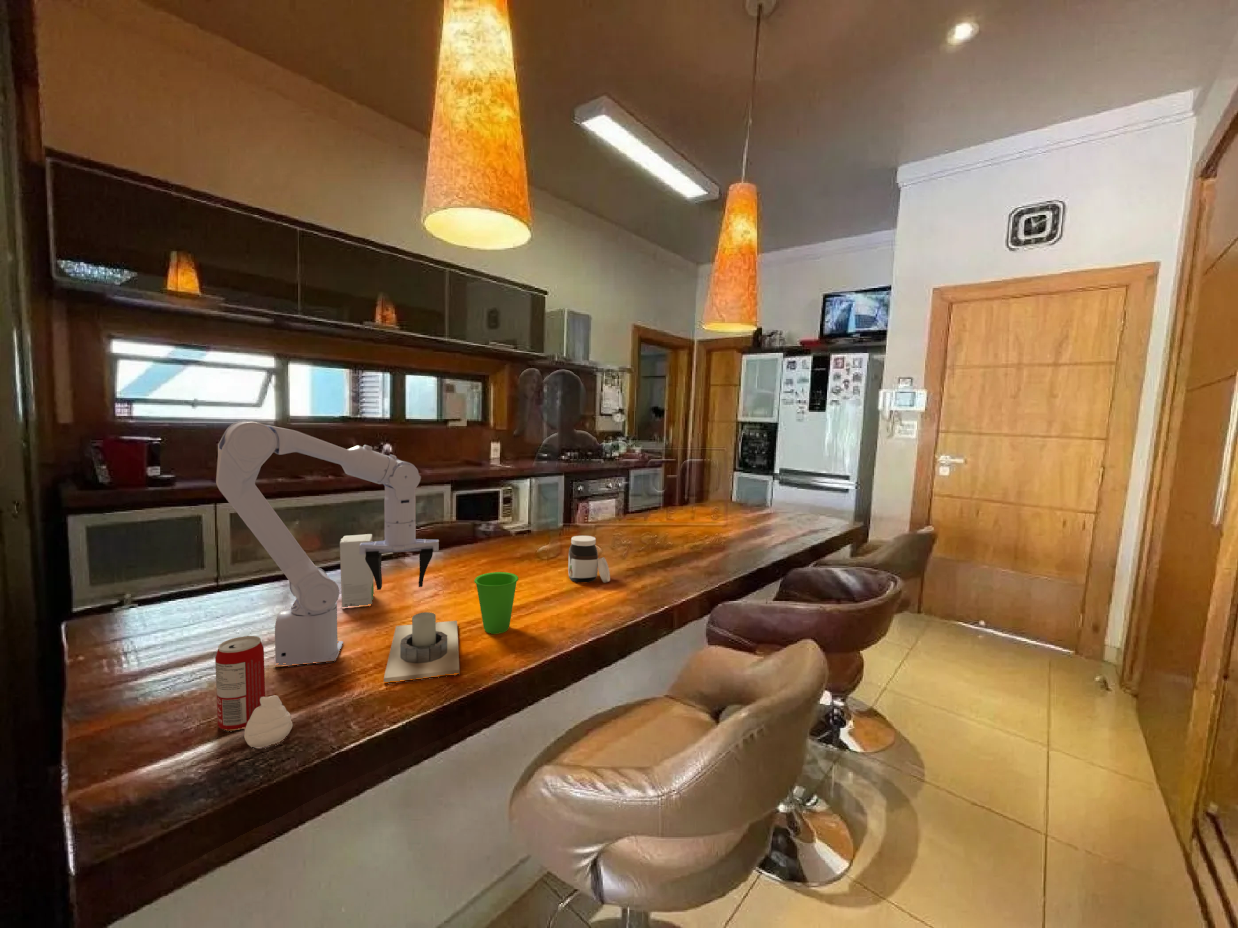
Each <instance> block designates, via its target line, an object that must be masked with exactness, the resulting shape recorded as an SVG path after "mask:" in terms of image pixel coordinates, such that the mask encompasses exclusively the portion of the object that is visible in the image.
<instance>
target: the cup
mask: <svg viewBox="0 0 1238 928" xmlns="http://www.w3.org/2000/svg"><path fill="white" fill-rule="evenodd" d="M518 581H519V576H518V575H516V574H515V573H512V572H506V571H504V572H503V571H496V572H494V571H493V572H487V573H484V574H483V573H482V574H480V575H477V576H476V577H475V578H474V581H473V582H474V584H475V585H476V590H477V596H478V601H479V608H480V615H481V619H482V624H483V625H482V626H483V629H484V631H485V632H486V633H488V634H490V633H491V635H493V634H494V635H499V634H504V633H505V632H507V631H508V630H509V628H510V625H511V619H512V612H513V607H514V600H515V593H516V588H517V582H518Z"/></svg>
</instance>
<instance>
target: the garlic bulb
mask: <svg viewBox="0 0 1238 928" xmlns="http://www.w3.org/2000/svg"><path fill="white" fill-rule="evenodd" d="M260 703H261V706H259V707H257V708H256V709H255V710H254V711H253V713H252V715H251V717H250V719H249V721H248V723H247V725H246V728H245V729H244V735H243V736H244V740H245V742H246V744H247V745H248V746H249V747H251V748H252V747H264V746H268V745H271V744H275V743H277V742H280V741H281V740H283V739H284V738H285V737H286V736H288V735H290V732H291V730H292V728H293V726H294V725H293V722H292V720H291V719H292V714H291V713H290V712H289V710H287V708H286V706H285V705H284V704H283V702H282V700H281V699H280V697H279V696H278V695H270V696H265V697H261V698H260ZM286 738H287V737H286ZM283 741H284V740H283Z"/></svg>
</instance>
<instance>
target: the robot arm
mask: <svg viewBox="0 0 1238 928" xmlns="http://www.w3.org/2000/svg"><path fill="white" fill-rule="evenodd" d="M273 453H275V454H276V455H279V456H280V455H286V454H287V455H288V454H291V453H298V454H302V455H307V456H310V457H313V458H317V459H319V460H324V461H326V462H330V463H333V464H338V465H340V466H341V467H342V469H343V472H344V474H346V475H348V476H351V477H354V478H358V479H361V480H364V481H368V482H372V483H374V484H378V485H383V486H384V502H383V503H384V507H383V508H384V540H377V541H372V542H364V543H361V544H360V545H359V552H360V555H361V554H366V557H365V560H366V562H367V564H368V566H369V567H370V569H371V571H372V573H373V579H374V581H375V585H376V590H377V591H379V590H382V588H383V577H382V576H383V575H382V559H383V558H382V556H383V555H382V553H401V552H403V553H405V552H419V560H418V561H419V562H418V563H419V576H418V588H422V587H423V586H424V585H423V584H424V577H425V574H426V571H427V569H428V566H429V564H430V562H431V560H432V558H433V555H434V554H433V553H434V552H439V548H440V547H439V545H440V544H439V542H440V540H439V539H426V538H423V539H422V538H416V536H417V535H416V532H417V531H416V530H417V529H416V528H417V527H416V526H417V525H416V523H417V522H416V517H417V516H416V513H417V512H416V510H417V509H416V503H417V502H416V500H417V499H416V497H417V496H416V488H417V487H418V486H419V484H420V483H421V479H422V476H421V475H420V474H419V469H418V468H417V467H416V466H415V464H413V463H411V462H409V461H405V460H401V459H399V458H397V456H396V455H394V454H389V455H387V454H384V453H381V452H378V451H375V450H373V446H370V445H368V444H364V445H363V446H361V445H355V446H353V447H350V448H347V449H346V448H344V447H341V446H338V445H336V444H333V443H330V442H328V441H325V440H323V439H319V438H317V437H314V436H311V435H309V434H307V433H304V432H301V431H298V430H294V429H289V428H284V427H278V426H274V425H269V424H263V423H262V422H261V423H260V422H256V421H251V420H239V421H236V422H234V423H232V424H230V425H229V426H228V427H227V428H226V430H225V431H224V433H223V434H222V436H221V438H220V441H219V442H218V444H217V462H216V478H215V482H216V483H215V484H216V486H217V488H218V490H219V492H220V493H221V495H223V497H224V498H225V499H226V501H227V502H228V503H229V504H230V506H231V507H232V508H233V509H234V511H235V512H236V513H237V514H238V516H239V517H240V519H241V520H242V521H243V523H244V524H245V525H246V526H247V528H248V529H249V530H250V531H251V532H252V534H253V536H255V538H256V539H257V541H258V542H259V543H260V544H261V546H262V547H263V549H265V551H266V552H267V554H268V555H269V556H270V558H271V559H272V560H273V562H274V563H275V564H276V565H277V566H278V568H279V569H280V570H281V572H282V573H283V574H284V575H285V577H286V578H287V579H288V581H289V591H290V592H291V593H290V594H292V595H293V596H294V597H295V600H294V602H293V604H292V605H291V606H290V609H289V608H288V609H283V610H280V611H279V612H278V614H277V616H276V619H275V626H274V647H275V649H274V650H275V651H274V653H275V657H274V658H275V659H274V660H275V663H279V664H278V665H292V664H303V663H313V662H326V661H334V660H335V661H337V659H336V658H338V657H339V654H340V652H339V651H341V650H340V649H342V647H343V645H344V641H343V640H338V600H339V597H340V588H339V585H338V584H337V582H335V581H334V580H333V579H331V578H330V576H328V574H327V573H326V571H325V570H324V569H322V568H321V567H318V566H316V565H315V564H314V562H313V561H312V560H311V558H310V557H309V556H308V554H307V553H306V551H305V550H304V549H303V548H302V546H301V545H300V544H299V542H298V541H297V540H296V537H294V535H293V534H292V532H291V531H290V530H289V528H288V527H287V526H286V524H285V523H284V522H283V521H282V519H281V518H280V517H279V515H278V513H277V512H276V511H275V510H274V508H273V507H272V506H271V504H270V503H269V501H268V500H267V499H266V498H265V496H264V495H263V493H262V492H261V491H260V489H259V488H258V487H257V485H256V480H257V478H258V475H259V473H260V471H261V467H262V466H263V464H265V463H266V461H267V460H268V459H270V457H271V456H272V454H273ZM337 642H338V643H337ZM342 644H343V645H342ZM335 661H334V662H335ZM275 663H274V665H276V664H275ZM283 663H286V664H283ZM326 663H327V662H326Z"/></svg>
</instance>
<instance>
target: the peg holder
mask: <svg viewBox="0 0 1238 928" xmlns="http://www.w3.org/2000/svg"><path fill="white" fill-rule="evenodd" d="M458 637H459V635H458V621H457V620H450V621H449V620H448V621H438V622H436V644H434V645H431V646H427V647H413V646H412V624H404V625H403V624H402V625H396V626H395V629H394V633H393V638H392V642H391V646H390V650H389V653H388V658H387V663H386V667H385V671H384V675H383V676H384V677H383V683H384V682H390V681H400V680H410V679H416V678H423V677H431V676H437V675H445V674H454V673H459V674H460V658H459V657H460V655H459V653H460V652H459V638H458Z"/></svg>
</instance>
